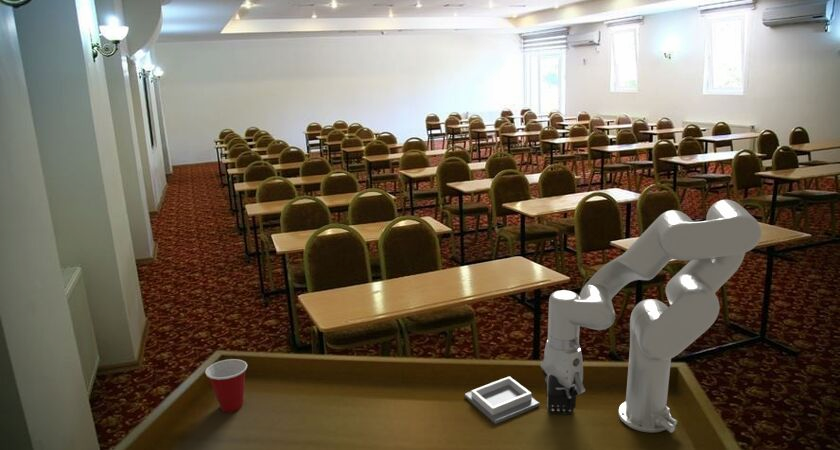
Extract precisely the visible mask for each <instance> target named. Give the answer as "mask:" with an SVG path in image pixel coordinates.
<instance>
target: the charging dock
mask: <svg viewBox="0 0 840 450" xmlns="http://www.w3.org/2000/svg"><path fill="white" fill-rule="evenodd" d="M532 394H533V393H532V392H531V391H530V390H528V389H527V388H526V387H525V386H523V385H521V384H520V382H518V381H517V380H515V379H513V378H512V377H511V376H510V375H509V376H507V377H504V378H500V379H499V380H495V381H492V382H490V383H488V384H485V385H482V386H480V387H477V388H475V389H472V390H470V391H468V392H466V393H464V398H466V399H467V401H469V402H470V403H471V404H472V405H473V406H474V407H475V408H477V410H479V411H480V412H481V413H482V414H484V415H485V416H486V417H487V418H488V419H489V420H490V421H491V422H492V423H493V424H495V425H497V424H500V423H502V422H504V421H507V420H509V419H511V418H513V417H516V416H519V415H521V414H523V413H527V412H528V411H531V410H533V409H535V408H537V407H540V402H539V401H537V400H536V399H535V398H534V397H533V395H532Z"/></svg>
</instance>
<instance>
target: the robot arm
mask: <svg viewBox="0 0 840 450" xmlns="http://www.w3.org/2000/svg"><path fill="white" fill-rule="evenodd" d="M705 219H706V220H703V221H693V220H692V218H691V217H690V216H688V215H687V214H685V213H684V212H683V211H681V210H675V209H671V210H667V211H664V212H663V213H661V214H660V215H659V216H658V217H657V218H656V219H655V220H654V221H653V222H652V223H651V224H650V225H649V226H648V227H647V229H645V230H644V232H642V233H641V235H640V236H639V237H638V238H637V239H635V241H634V243H632V244H631V246H629V247H628V249H627V250H625V252H623V253H622V255H620V256H617V257H615V258H614V259H612V260H610V261H609V262H607V263H606V264H604V265H602V267H600V268H599V269H598V270H597V271H596V272H595V273H594V274H593V276H592V277H590V279H589V280H588V281H587V282H586V283H585V284H584V285H583V287H582V288H581V291H580V293H579V294H578V293H576V292H574V291H571V290H566V289H562V290H555V291H554V292H552V293H551V294H550V296H549V299H548V317H547V319H548V322H547V340H546V342H545V347H544V353H543V360H542V361H541V362H539V365H540V368H541V369H542V373H543V375H544V377H545V379H544V381H545V383H546V384H547V382H548V375H549V374H550V375H553V376H555V377H556V378H557V380H558V382H559V383H560V384H561V385H563V386H565V390H566V395H567V396H565V403H564V410H566V411H568V410H570V409H573V408H574V409H575V408H576V405H577V404H576V401H577V398H576V397H577V396H579V395H581V394H583V393H585V392H586V388H585V387H584V384H583V381H584V364H583V363H584V361H583V354H582V349H581V345H580V327H582V328H587V329H592V330H596V331H602V330H607V329H608V328H610V327H612V325H613V324H614V322H615V320H616V312H615V309H614V305H613V302H612V299H613V298H614V297H615V296H616V295H617V294H618V293H619V292H620V291H621V290H622V288H624V287H625V286H627V285H628V284H629V283H631V282H635V281H639V280H640V281H651V280H652V279H654V278H655V277H656V276H657V275H658V274H659V273H660V272H661V271H662V269H663V268H664V267H665V266H666V265H667V264H668V263H670V262H671V260H672V259H673V260H677V261H689V262H688V263H687V264H685V265H684V266H683V267H682V268H681V269H680V270H679V271H678V272H676V274H675V275H674V276H672V278H670V280H669V281H668V282H667V283H666V286H665V295H666V297H667V298H666V299H667V301H668V303H669V306H667V304H665V303H664V302H662V301H661V300H658V299H655V298H654V299H652V298H647V299H644V300H641V301H639V302H638V303H637V304H636V305H635V306H634V308H633V309H632V311H631V314H630V317H629V318H630V319H629V355H628V367H627V369H628V370H627V382H626V393H625V401H624V402H622V403H621V404H620V405H619V408H618V418H619V419H620V420H621V422H623V423H624V424H625V425H626V426H628V427H629V428H631V429H633V430H636V431H639V432H644V433H650V434H651V433H660V432H663V431H668V432H669V433H671V434H673V433H674V431H675V430H676V426H677V424H678V420H677V419H675V418H674V417H672V415H671V412H670V410H671V408H670V407H668V406H667V403H668V402H667V401H668V393H669V383H670V382H669V381H670V372H671V364H672V363H671V362H672V358H675V357H677V356H678V355H679V354H680V353H682V352H683V351H684V350H685V349H686V348H688V347H689V346H690V345H691V344H693V342H695V341H696V340H697V339H699V338H700V337H701V336H702V335H703V334H704V333H705V332H706V331H708V330H709V329H710V328H711V326H713V324H714V323H715V321H716V320H717V319H718V317H719V313H720V308H721V307H720V302H719V298H718V296H717V295H716V293H717V291H718V290H719V289H720V288H721V287H722V286H723V285H724V284H725V283H727V282H728V280H729V279H730V278H731V277H732V276H734V274H735V273H736V272H737V271H738V269H739V268H740V266H741V265H742V263H743V260H744V259H745V255H746V253H748V252H749V251H751V250H753V249H754V248H755V247H756V246H757V245H758V244H759V242H760V241H761V237H762V229H761V225H760V223H759V222H758V221H757V219H756V218H755V217H754V216H753V215H751V214H750V213H749V212H748V210H747V209H746V208H744V207H743V206H742V205H741V204H739V203H737V201H734V200H731V199H720V200H718V201H716V202H714V203H713V204H712V205H711V206H710V207H709V209H708V211H707V214H706V218H705ZM571 387H573V391H572V392H570V388H571ZM545 396H546V397H547V398H548V396H547V390H546V395H545Z"/></svg>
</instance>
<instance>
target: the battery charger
mask: <svg viewBox="0 0 840 450" xmlns="http://www.w3.org/2000/svg"><path fill="white" fill-rule="evenodd" d="M546 391H547V396H548V397H547V396H546V397H547V404H546V409H547V411H548V412H549V413H550V414H552V415H572V414H574V411H575V408H573V409H570V410H568V411H566V410H564V403H565V396H567V395H566V390H565V386H563V385H561V384H560V383H559V382H558V380H557V378H556V377H555V376H553V375H550V374H549V375H548V382H547V383H546ZM572 391H573V387H571V388H570V392H572Z"/></svg>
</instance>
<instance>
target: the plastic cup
mask: <svg viewBox="0 0 840 450" xmlns="http://www.w3.org/2000/svg"><path fill="white" fill-rule="evenodd" d="M247 368H248V363H247V362H246V361H244V360H242V359H235V358H229V359H223V360H219V361H217V362H214V363H212V364H210V365H209V366H207V367H206V369H205V371H204V373H205V375H206V377H207V378H208V380H209V381H210V384H211V387H212V388H213V392H214V394H215V397H216V400H217V401H218V404H219V408H220V409H221V410H222V411H223V412H225V413H233V412H236V411H238V410H240V409H241V408H243V404H244V394H245V381H246V380H245V376H246V370H247Z"/></svg>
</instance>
